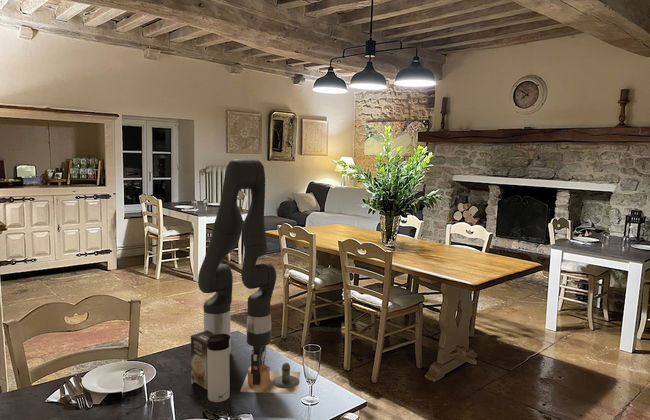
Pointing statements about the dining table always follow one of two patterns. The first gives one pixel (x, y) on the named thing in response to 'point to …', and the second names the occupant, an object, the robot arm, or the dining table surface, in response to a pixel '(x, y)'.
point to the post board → (276, 382)
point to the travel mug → (218, 367)
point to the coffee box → (199, 358)
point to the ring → (263, 375)
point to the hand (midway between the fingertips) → (258, 377)
